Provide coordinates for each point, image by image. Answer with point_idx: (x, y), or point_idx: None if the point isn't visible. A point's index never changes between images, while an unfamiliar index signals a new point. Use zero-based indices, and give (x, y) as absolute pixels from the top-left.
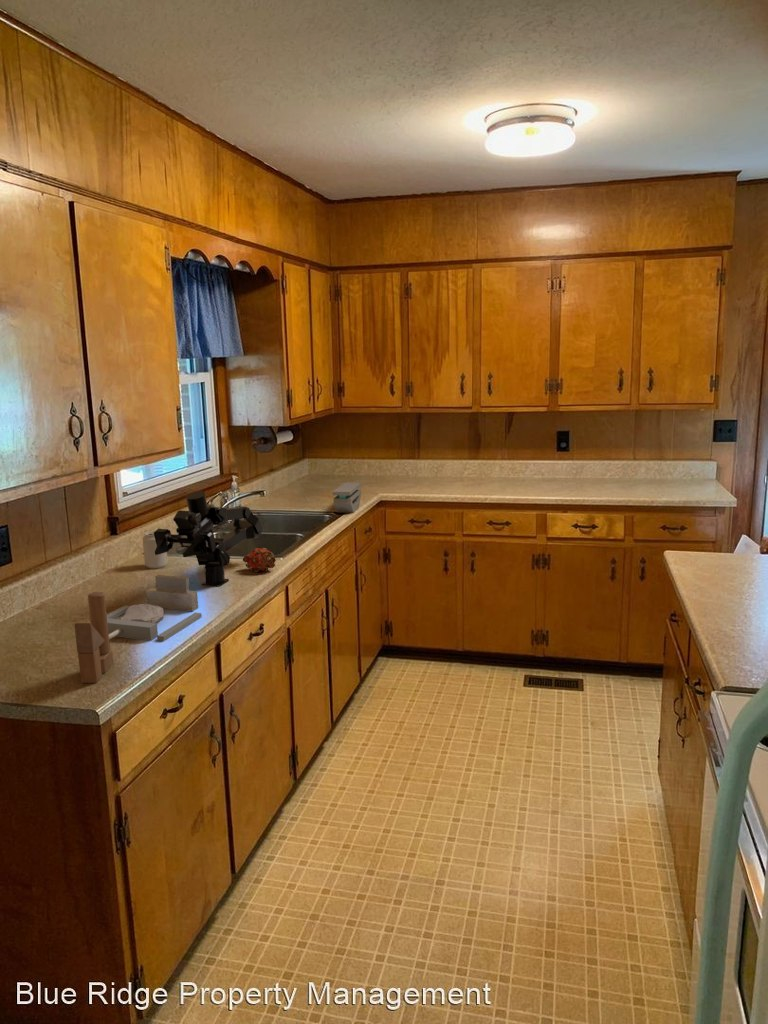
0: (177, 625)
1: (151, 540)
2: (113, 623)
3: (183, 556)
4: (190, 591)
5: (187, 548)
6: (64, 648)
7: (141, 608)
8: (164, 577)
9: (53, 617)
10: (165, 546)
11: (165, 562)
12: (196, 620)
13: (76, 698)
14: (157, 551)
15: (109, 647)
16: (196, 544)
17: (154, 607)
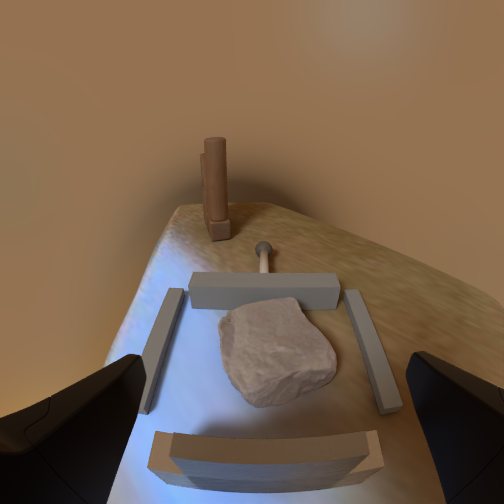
0: (160, 330)
1: None
2: (280, 273)
3: (143, 372)
4: (176, 466)
5: (97, 390)
6: (318, 256)
7: (286, 343)
8: (308, 438)
9: (464, 321)
10: (482, 492)
11: None
12: None
13: None
14: (419, 370)
15: (208, 213)
16: (6, 423)
17: (263, 371)
